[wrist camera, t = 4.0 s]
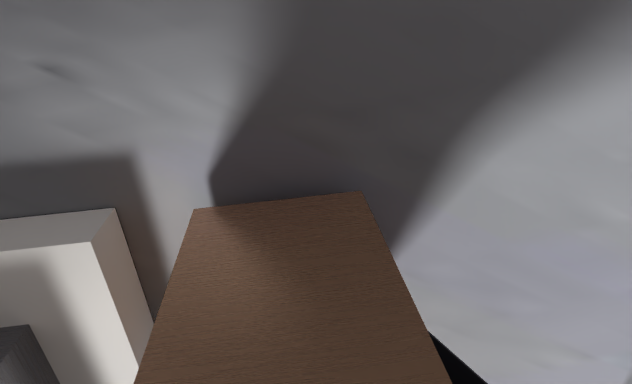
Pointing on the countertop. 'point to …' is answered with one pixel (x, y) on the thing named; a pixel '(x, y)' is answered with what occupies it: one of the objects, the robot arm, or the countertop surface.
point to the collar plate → (70, 301)
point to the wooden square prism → (288, 301)
